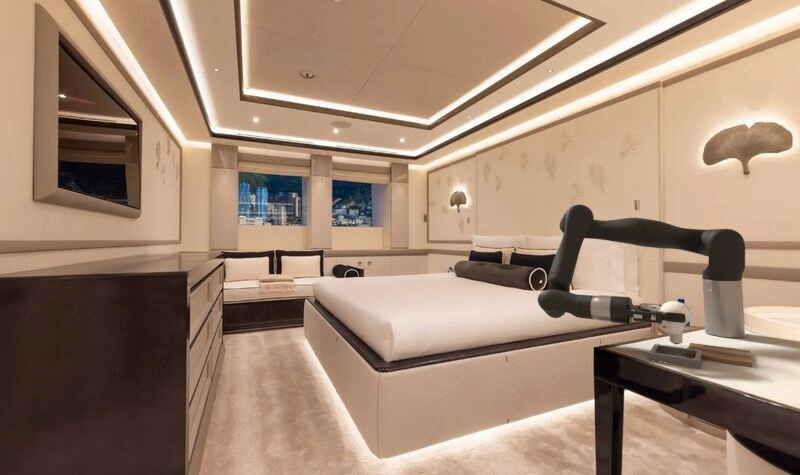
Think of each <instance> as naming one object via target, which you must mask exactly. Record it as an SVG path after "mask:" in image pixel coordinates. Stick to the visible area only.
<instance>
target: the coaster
mask: <svg viewBox="0 0 800 475" xmlns="http://www.w3.org/2000/svg"><path fill="white" fill-rule="evenodd" d="M687 349H695V350H702V361H708V362H716V363H723V364H729V365H734V366H735V365H736V366H741V367H747V368H753V360H752V355H751V350H748V349H743V348H733V347H726V346H725V347H724V346H718V345H710V344H704V343H702V344H701V343H696V342H694V343H693V342H690V343H689V344H688V348H687ZM695 356H696V354H694V353H687V356H686V358H691V359H695Z"/></svg>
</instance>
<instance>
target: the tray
mask: <svg viewBox="0 0 800 475" xmlns="http://www.w3.org/2000/svg"><path fill="white" fill-rule="evenodd" d="M663 353H664V354H663ZM687 353H694V354H696V356H695V358H688V357H687ZM652 360H655V361H654V362H658V361H662V362H661V363H664V362H666V363H665V364H670V363H672V364H671V365H676V364H677V366H681V367H682V366H683V367H688V368H693V369H694V368H695V369H701V368H702V362H703V360H702V350H695V349H688V348H686V347H678V346H672V345H665V344H657V343H654V344H653V346H652V347H651V349H650V350H649V352H648V361H652Z"/></svg>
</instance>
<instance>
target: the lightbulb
mask: <svg viewBox="0 0 800 475" xmlns="http://www.w3.org/2000/svg"><path fill="white" fill-rule="evenodd" d="M661 305H662V306H661V308H660V311H664V312H671V313H683V314H685V317H686V321H685V323H679V322H669V321H667V320H666V322H663V323H664V324H665V326H666V328H667V331H668V334H669V335H668V336H669V342H671V343H672V344H674V345H681V344H682V343H683V333H684V330H685V326H687V324H688V323H690V320H691V318H692V317H691V316H692V314H691V311H690V309H689V307H688V306H687V305H686V304H684V303H682V302H681V301H676V300H673V301H672V300H671V301H667V302H665V303H662V304H661Z"/></svg>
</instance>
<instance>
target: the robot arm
mask: <svg viewBox="0 0 800 475" xmlns="http://www.w3.org/2000/svg"><path fill="white" fill-rule="evenodd" d="M559 230H560V232H562V233H563V235H562V239H561V241H560V244H559V247H558V249H557V251H556V254H555V256H554V258H553V261H552V264H551V267H550V270H549V272H548V276H547V284H548V287H549V288H548V289H545V290H543V291H541V292H540V293H539V294H538V297H537V304H538V306H539V307H540V308H541V310H543V311H544V313H545V314H546V315H547V316H549V317H551V318H553V319H558V318H562V317H563V316H564V315H565V314H566V313H567V314H569V315H571V316H573V317H576V318H578V319H587V320H595V321H599V322H603V323H604V322H605V323H615V324H623V325H631V324H632V322H634V321H635V322H644V323H657V324H662V323H664V322H666V320H667V321H669V322H679V323H685V321H686V317H685V314H683V313H671V312H664V311H660V308H661V306H662V305H663V304H656V303H655V304H654V303H646V302H643V303H639V304H638V305H637V304H633V300H632V298H631V297H630V296H620V295H619V296H618V295H607V294H606V295H605V294H603V295H602V294H601V295H593V294H592V295H590V294H577V293H573V292H571V291H570V290H571V283H572V281H573V277H574V274H575V270H576V266H577V263H578V259H579V254H580V251H581V249H582V245H583V243H584V241H585V239H589V240H590V239H591V240H601V241H609V242H614V243H622V244H627V245H633V246H639V247H644V248H652V249H653V248H654V249H670V250H671V249H673V250H680V251H685V252H689V253H693V254H697V255H702V256H705V257H708V264H707V267H706V268H705V269H702V273H701V274H702V294H703V295H702V296H703V298H702V299H703V312H704V313H703V315H704V316H703V317H704V332H705V333H706V334H708V335H712V336H717V337H723V338H734V339H735V338H745V337H746V332H745V331H746V330H745V310H744V308H745V307H744V294H743V292H744V290H743V275H744V274H743V273H744V272H745V269H746V243H745V240H744V237H743V235H742V234H741V233H740V232H738V231H737V230H734V229H732V228H731V229H730V228H713V229H697V228H685V227H679V226H676V225H673V224H671V223H667V222H664V221H660V220H656V219H650V218H643V217H627V218H626V217H625V218H618V219H617V218H616V219H610V220H602V219H601V220H600V219H594V213H593V211H592V209H591V208H590V207H589V206H586V205H584V204H574V205H571V206H570V207H568V209H567V210H566V211H565V212H564V214H563V216H562V218H561V220H560V222H559ZM744 336H745V337H744Z"/></svg>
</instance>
